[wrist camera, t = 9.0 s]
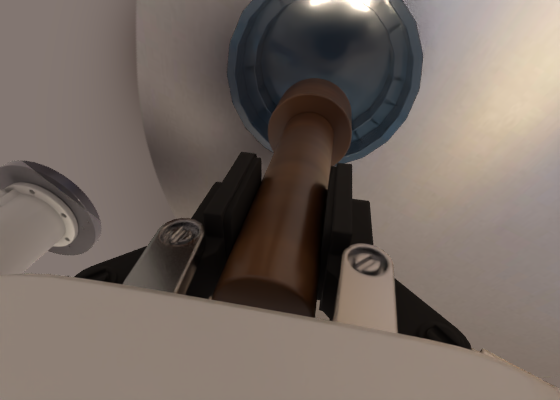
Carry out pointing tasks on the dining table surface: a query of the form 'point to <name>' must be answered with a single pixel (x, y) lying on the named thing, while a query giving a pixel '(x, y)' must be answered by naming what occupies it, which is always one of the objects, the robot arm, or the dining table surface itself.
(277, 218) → the brown wooden stamp
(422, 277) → the dining table surface
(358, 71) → the bowl
